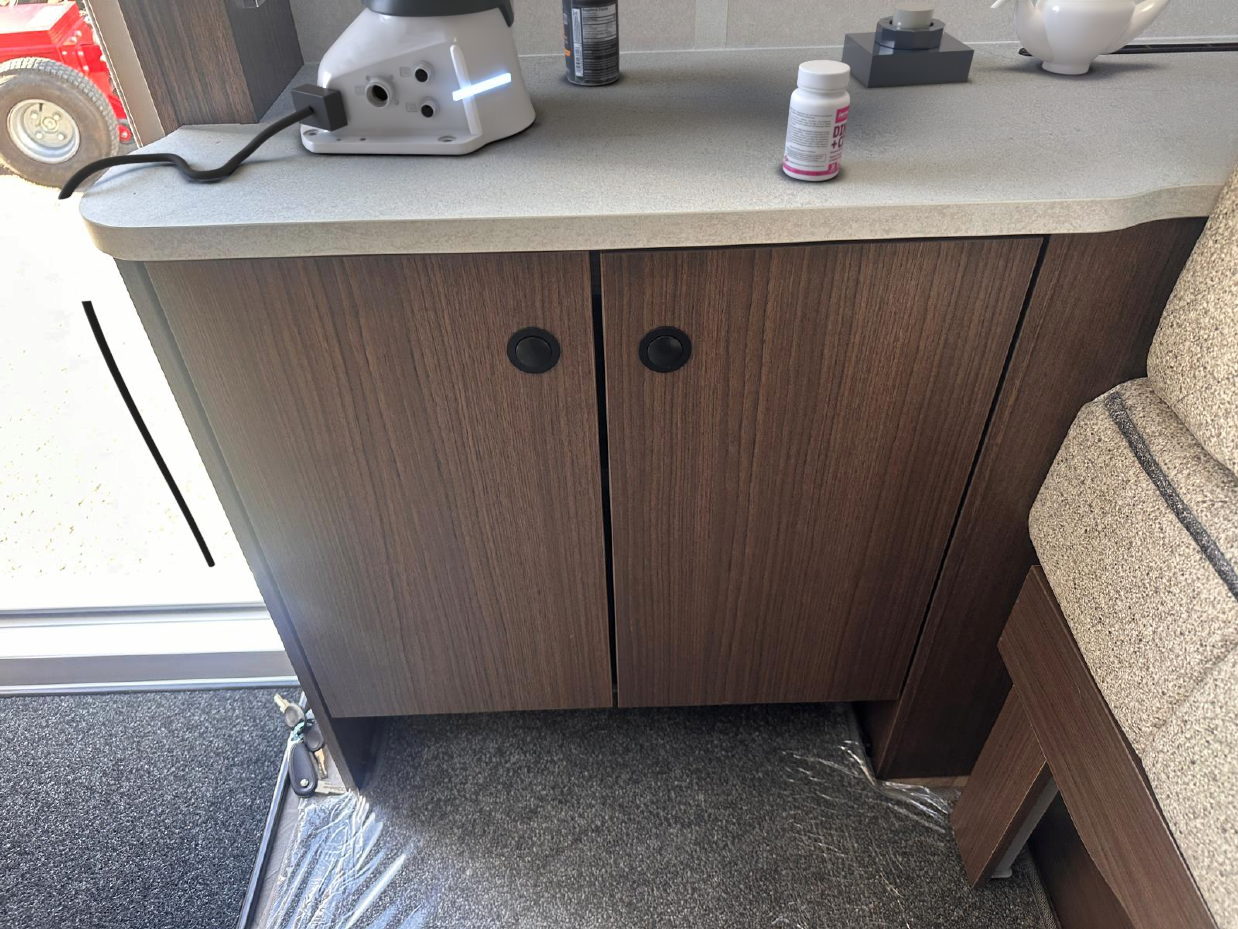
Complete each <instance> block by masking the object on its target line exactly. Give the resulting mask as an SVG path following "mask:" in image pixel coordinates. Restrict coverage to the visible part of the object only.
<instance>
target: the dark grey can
mask: <svg viewBox="0 0 1238 929" xmlns="http://www.w3.org/2000/svg"><path fill="white" fill-rule="evenodd" d="M561 8H562V9H561V10H562V24H563V27H562V28H563V40H564V55H565V56H564V59H565V72H566V73H565V75H566V78H567V80H568V81H569V82H571V83H573V84H576V85H580V86H601V85H602V86H603V85H607V84H610V83H613V82H615V81H616V80H618V78H619V77H620V72H621V70H620V59H621V58H620V24H619V21H620V20H619V0H561Z"/></svg>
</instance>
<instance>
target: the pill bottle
mask: <svg viewBox="0 0 1238 929" xmlns="http://www.w3.org/2000/svg"><path fill="white" fill-rule="evenodd" d="M850 74H851V72H850V67H849V65H847V64H845V63H842V62H841V61H837V60H832V59H831V60H830V59H815V60H808V61H804V62H801V63H800V64H799V66H798V72H797V82H796V85H797V88H795V90H793V92H792V93H791V96H790V100H789V101H790V102H789V111H788V119H787V127H786V129H787V130H786V136H785V137H786V138H785V146H784V154H783V162H782V170H783V172H784V173H785V174H786V175H787V176H788V177H791V178H793V179H797V180H801V181H810V182H820V181H826V180H830V179H832V178H834V177H836V176H837V174H838V173H839V172H840V165H841V161H842V154H843V149H844V142H845V136H846V135H845V134H846V129H847V123H848V117H849V111H850V104H851V96H850V94H849V92H848V91H847V90H846V89H847V88H848V87H849V83H850V76H851V75H850Z"/></svg>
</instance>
